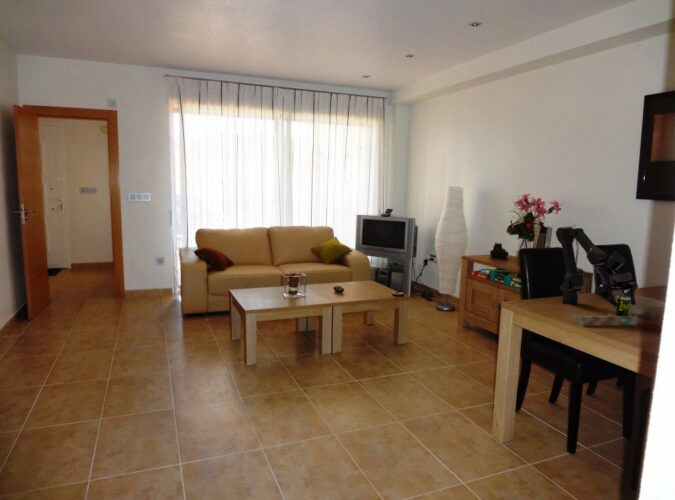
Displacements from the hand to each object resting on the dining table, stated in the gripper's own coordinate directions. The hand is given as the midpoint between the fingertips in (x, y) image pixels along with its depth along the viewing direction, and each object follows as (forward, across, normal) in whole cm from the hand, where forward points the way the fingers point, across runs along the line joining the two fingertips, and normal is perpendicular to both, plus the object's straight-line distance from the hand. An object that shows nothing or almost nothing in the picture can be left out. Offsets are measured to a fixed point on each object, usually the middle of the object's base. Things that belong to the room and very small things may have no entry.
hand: (625, 305), depth 202 cm
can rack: (+4, -8, +8) cm, 12 cm away
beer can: (+5, 0, +7) cm, 8 cm away
